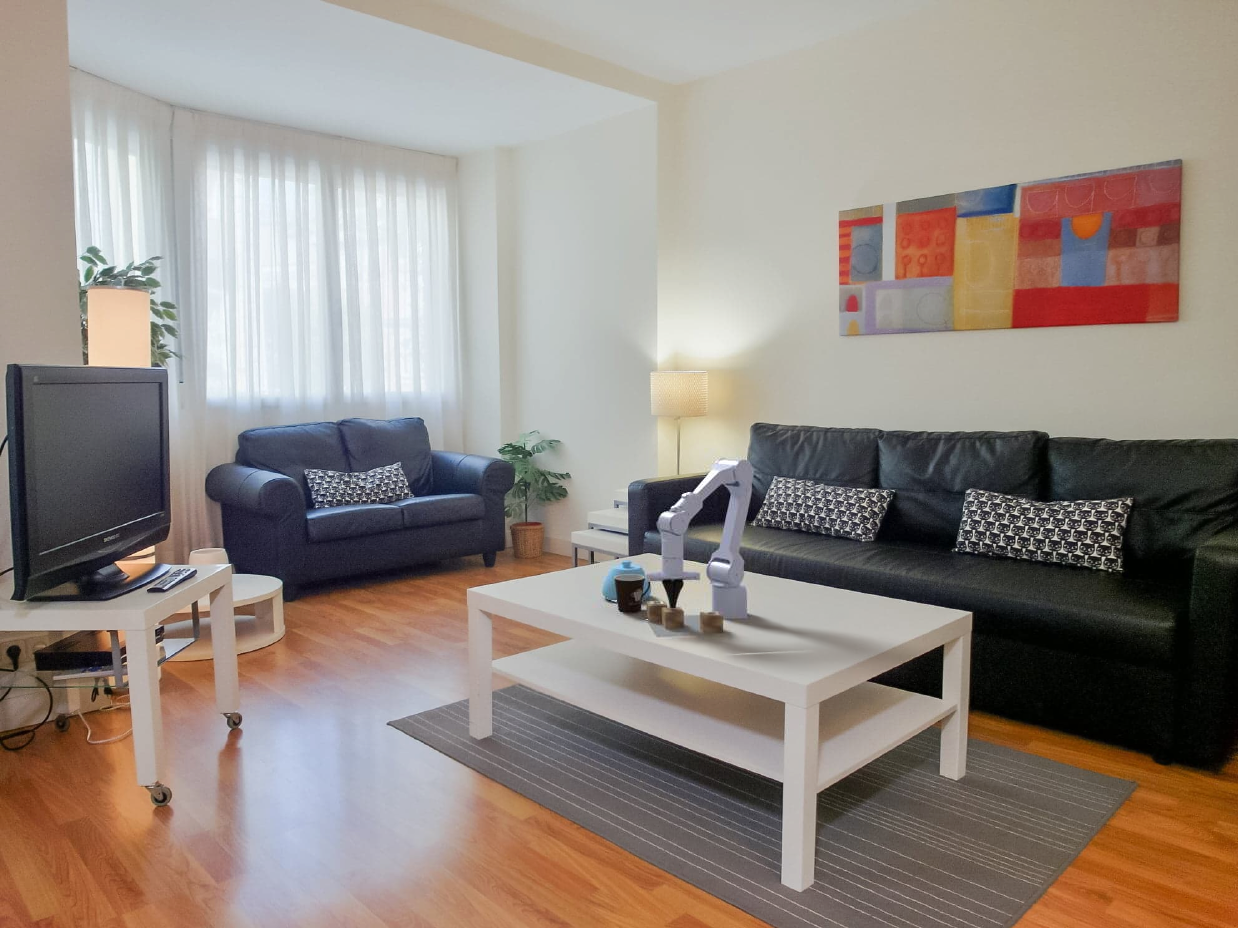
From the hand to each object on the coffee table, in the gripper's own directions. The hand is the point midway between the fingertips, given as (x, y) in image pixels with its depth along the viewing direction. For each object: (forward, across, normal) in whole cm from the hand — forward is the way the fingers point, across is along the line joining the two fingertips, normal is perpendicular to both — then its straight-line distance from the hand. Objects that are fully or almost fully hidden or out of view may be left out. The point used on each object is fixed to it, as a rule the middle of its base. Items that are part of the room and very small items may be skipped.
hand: (672, 607), depth 236 cm
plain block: (+5, 0, 0) cm, 5 cm away
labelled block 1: (+5, -3, +8) cm, 9 cm away
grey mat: (+5, +3, 0) cm, 6 cm away
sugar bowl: (+6, -7, +36) cm, 37 cm away
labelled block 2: (+5, +9, -6) cm, 12 cm away
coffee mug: (+6, -7, +19) cm, 21 cm away
